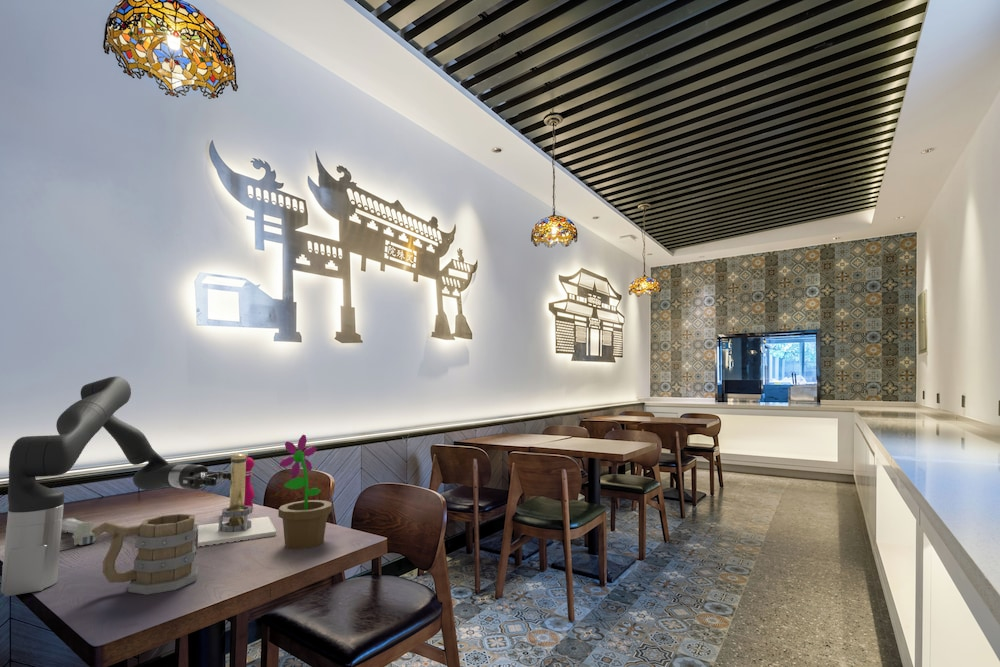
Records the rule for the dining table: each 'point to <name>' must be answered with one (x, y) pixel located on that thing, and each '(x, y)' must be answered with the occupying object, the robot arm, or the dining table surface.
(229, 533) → the base
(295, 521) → the flowerpot
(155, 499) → the dining table surface
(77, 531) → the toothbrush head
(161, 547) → the tankard
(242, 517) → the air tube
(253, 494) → the pepper mill
